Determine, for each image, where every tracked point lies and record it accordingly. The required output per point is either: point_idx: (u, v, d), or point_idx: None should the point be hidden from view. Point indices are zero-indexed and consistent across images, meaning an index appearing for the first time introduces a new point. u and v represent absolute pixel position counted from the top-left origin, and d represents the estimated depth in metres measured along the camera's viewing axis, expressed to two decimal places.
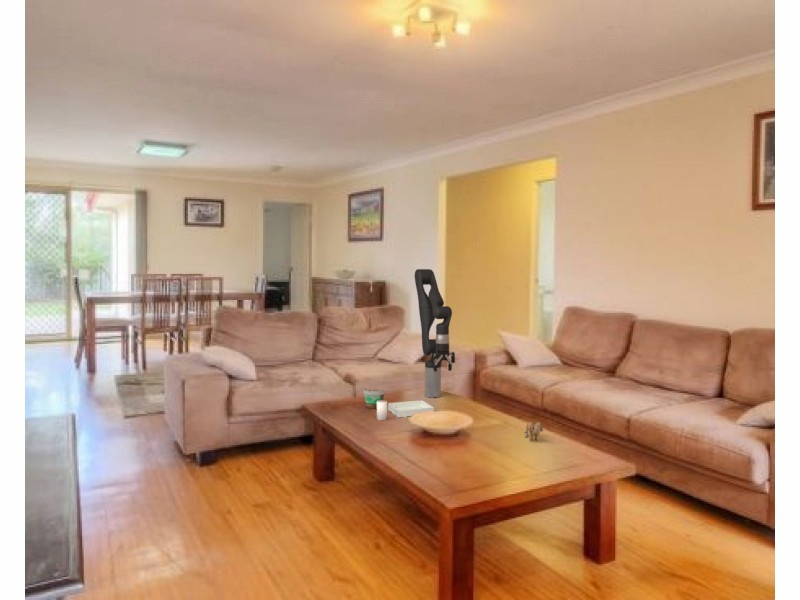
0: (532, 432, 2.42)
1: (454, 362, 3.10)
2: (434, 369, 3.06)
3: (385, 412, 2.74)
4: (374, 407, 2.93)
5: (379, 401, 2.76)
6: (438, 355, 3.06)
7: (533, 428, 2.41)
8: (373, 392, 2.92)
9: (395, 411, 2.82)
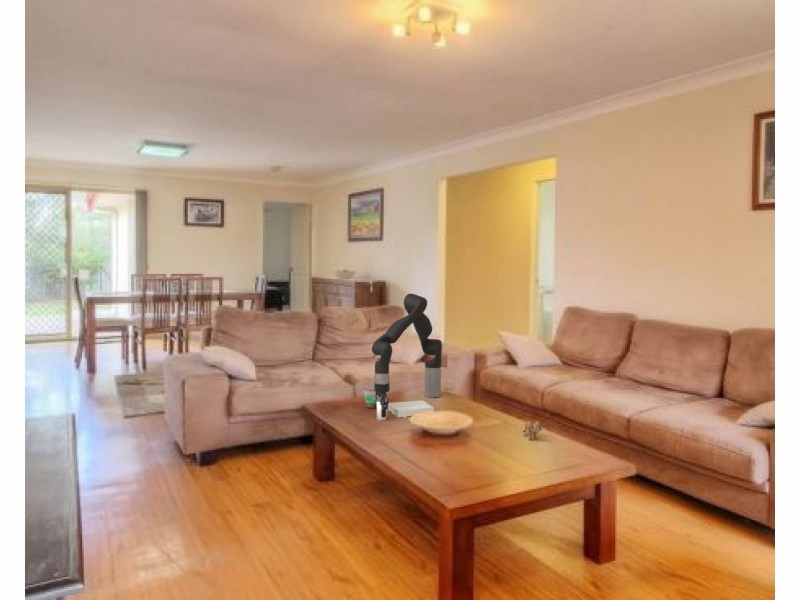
0: (531, 431, 2.43)
1: None
2: (385, 414, 2.73)
3: None
4: (374, 407, 2.93)
5: (379, 401, 2.76)
6: None
7: (532, 427, 2.43)
8: (373, 392, 2.92)
9: (395, 411, 2.82)
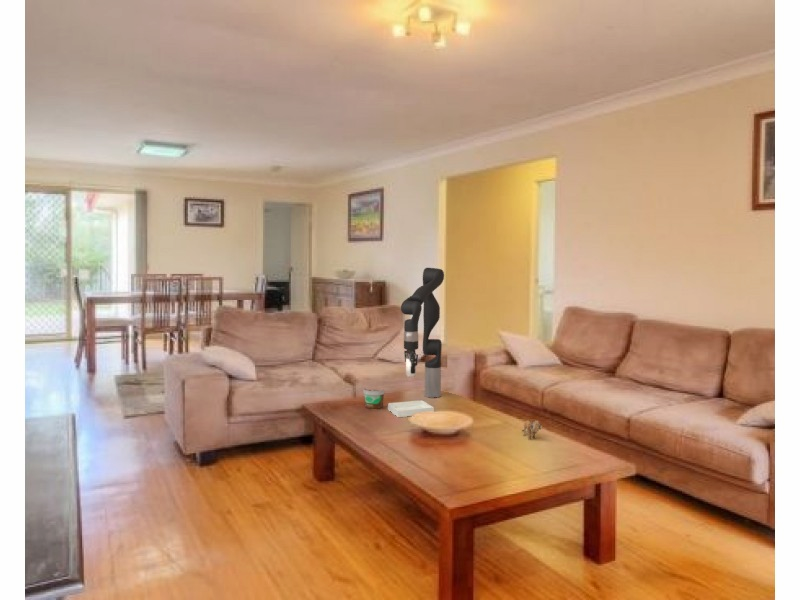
0: (531, 430, 2.44)
1: None
2: (414, 370, 2.84)
3: None
4: (374, 407, 2.93)
5: (408, 358, 2.87)
6: None
7: (532, 426, 2.44)
8: (373, 392, 2.92)
9: (395, 411, 2.82)
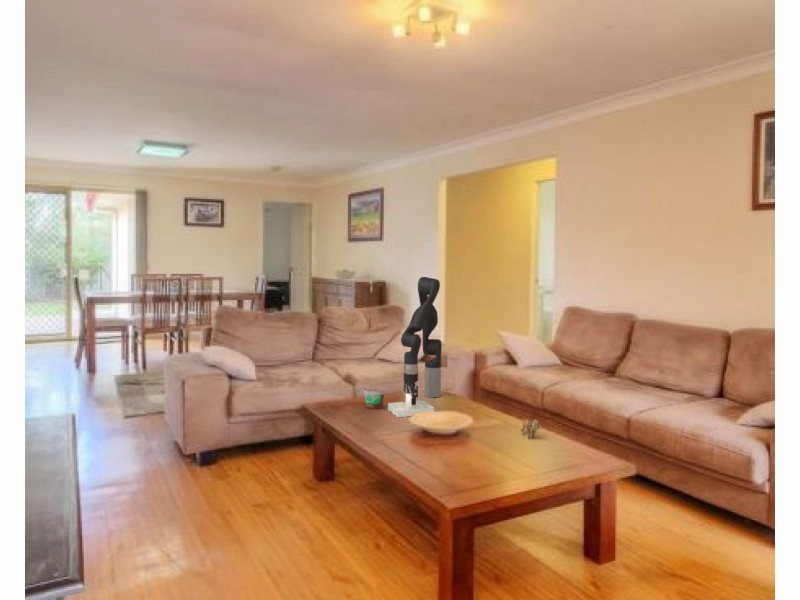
0: (530, 429, 2.45)
1: None
2: (415, 402, 2.84)
3: None
4: (374, 407, 2.93)
5: (408, 393, 2.88)
6: None
7: (531, 425, 2.45)
8: (373, 392, 2.92)
9: (395, 411, 2.82)
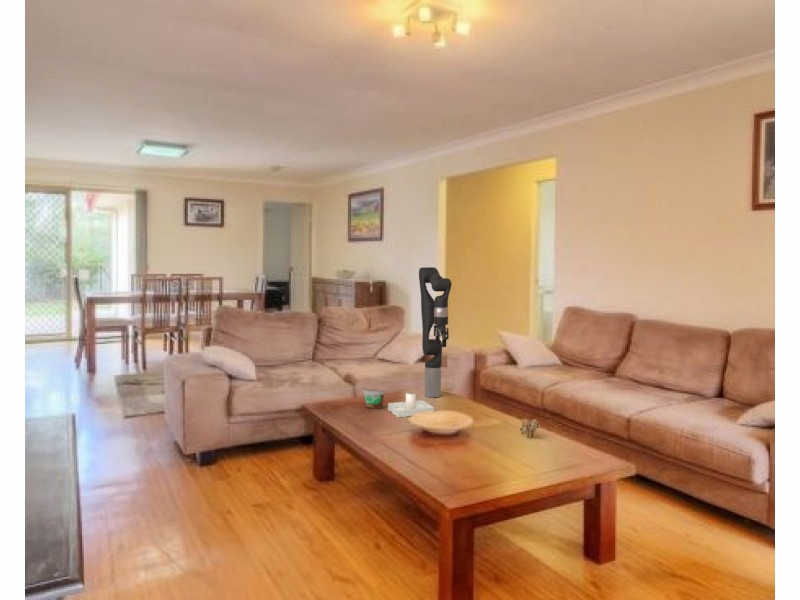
0: (529, 429, 2.46)
1: None
2: None
3: (414, 404, 2.87)
4: (374, 407, 2.93)
5: (408, 393, 2.88)
6: None
7: (530, 425, 2.46)
8: (373, 392, 2.92)
9: (395, 411, 2.82)
